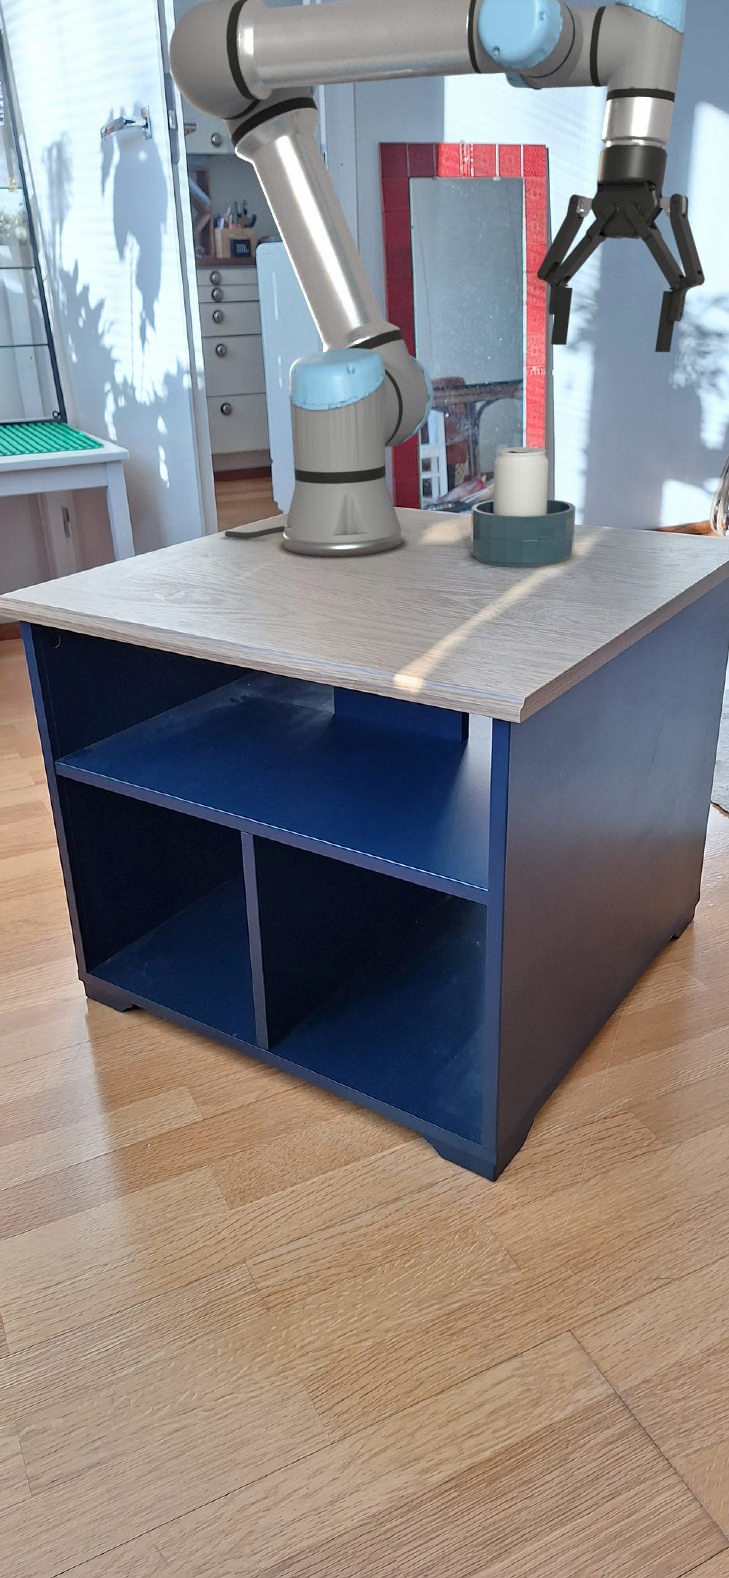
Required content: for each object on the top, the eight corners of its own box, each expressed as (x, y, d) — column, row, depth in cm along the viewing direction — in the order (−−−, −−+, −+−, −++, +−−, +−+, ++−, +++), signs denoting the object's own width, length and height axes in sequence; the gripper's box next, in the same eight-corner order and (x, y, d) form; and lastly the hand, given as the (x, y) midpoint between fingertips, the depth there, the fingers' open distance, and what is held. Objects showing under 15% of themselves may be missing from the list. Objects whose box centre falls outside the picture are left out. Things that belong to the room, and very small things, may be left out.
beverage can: (482, 552, 136) (483, 450, 131) (512, 543, 140) (514, 444, 135) (526, 559, 132) (529, 454, 127) (555, 549, 136) (559, 447, 131)
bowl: (453, 561, 134) (453, 511, 132) (501, 542, 143) (502, 495, 141) (544, 572, 128) (546, 519, 125) (589, 552, 137) (591, 502, 134)
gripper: (754, 148, 122) (720, 354, 131) (551, 154, 135) (532, 341, 144) (731, 138, 117) (697, 355, 125) (521, 146, 130) (503, 342, 138)
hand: (609, 348), depth 135 cm, fingers open, 13 cm apart
